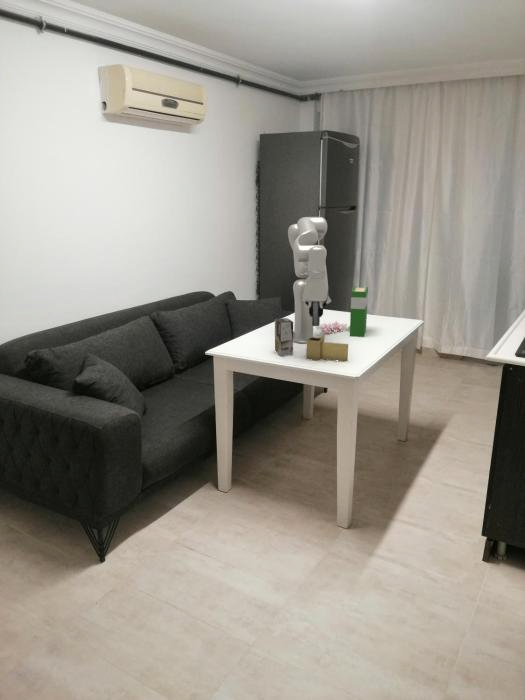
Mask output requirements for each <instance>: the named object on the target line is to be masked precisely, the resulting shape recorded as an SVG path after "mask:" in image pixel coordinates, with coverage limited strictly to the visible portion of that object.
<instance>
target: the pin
mask: <svg viewBox="0 0 525 700" xmlns="http://www.w3.org/2000/svg"><path fill="white" fill-rule="evenodd" d="M319 308H320V302H315V301H312V326H313V327H319V326H321V325H320V324H321V323H320V322H321V320H320V319H321V317H319Z"/></svg>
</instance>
